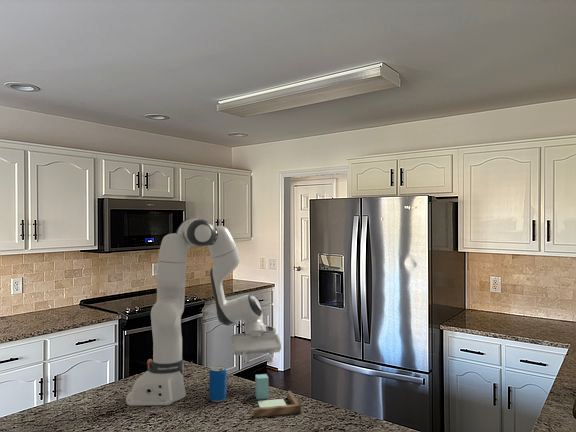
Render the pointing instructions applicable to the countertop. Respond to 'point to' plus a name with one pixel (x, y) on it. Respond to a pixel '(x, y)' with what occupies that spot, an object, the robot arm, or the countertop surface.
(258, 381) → the teal block
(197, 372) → the countertop surface
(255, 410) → the corner walls
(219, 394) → the beverage can
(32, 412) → the countertop surface
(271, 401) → the pad
